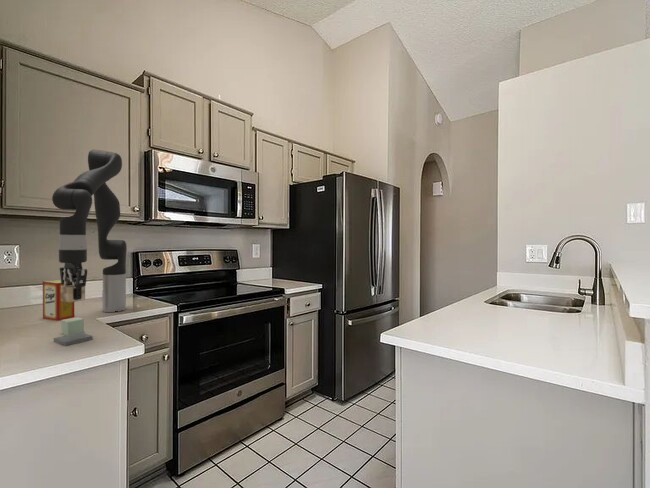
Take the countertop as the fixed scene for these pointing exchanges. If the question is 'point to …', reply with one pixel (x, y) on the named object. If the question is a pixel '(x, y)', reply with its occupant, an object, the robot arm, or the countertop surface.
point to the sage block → (72, 326)
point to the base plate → (73, 338)
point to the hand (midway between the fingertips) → (73, 298)
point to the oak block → (70, 293)
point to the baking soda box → (55, 302)
